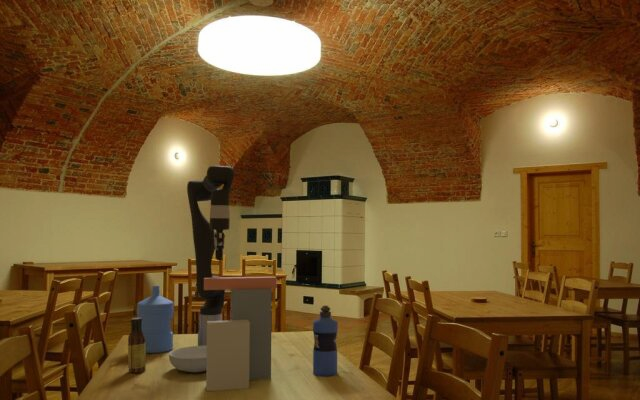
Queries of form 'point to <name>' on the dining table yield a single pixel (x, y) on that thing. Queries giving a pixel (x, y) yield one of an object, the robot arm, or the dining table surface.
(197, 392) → the dining table surface
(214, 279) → the bar
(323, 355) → the water bottle
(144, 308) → the water jug
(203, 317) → the robot arm
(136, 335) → the sauce bottle
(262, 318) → the stand
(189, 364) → the serving bowl
